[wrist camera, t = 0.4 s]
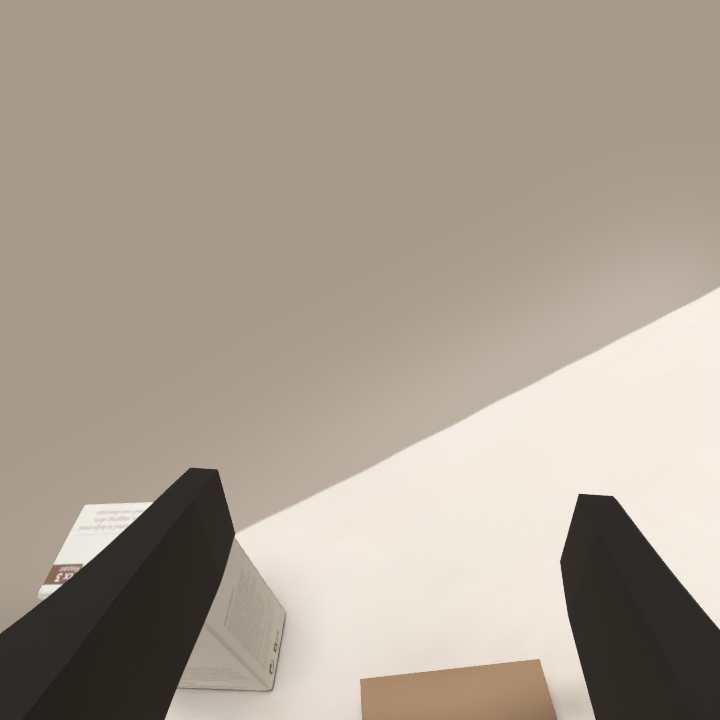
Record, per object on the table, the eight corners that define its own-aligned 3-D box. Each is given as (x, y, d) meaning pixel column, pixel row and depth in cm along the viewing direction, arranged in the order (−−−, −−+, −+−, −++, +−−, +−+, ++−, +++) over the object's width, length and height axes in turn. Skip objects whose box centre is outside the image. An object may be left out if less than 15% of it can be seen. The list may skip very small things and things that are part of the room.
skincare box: (287, 608, 29) (218, 488, 21) (273, 699, 26) (183, 596, 18) (188, 608, 30) (86, 493, 22) (161, 696, 27) (29, 596, 19)
